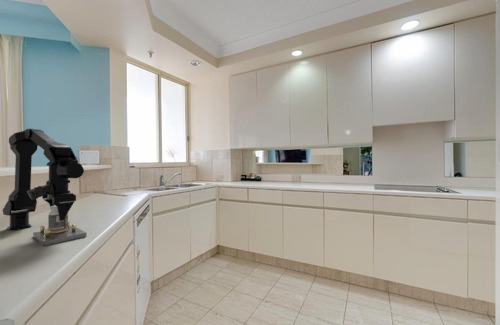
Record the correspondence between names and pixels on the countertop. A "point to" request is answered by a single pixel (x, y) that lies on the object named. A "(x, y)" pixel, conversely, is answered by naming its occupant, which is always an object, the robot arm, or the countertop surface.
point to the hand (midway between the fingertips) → (58, 218)
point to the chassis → (58, 235)
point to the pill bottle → (56, 221)
